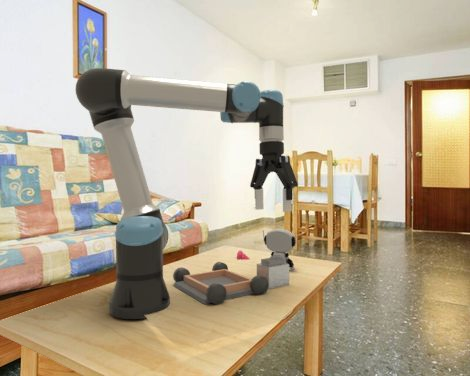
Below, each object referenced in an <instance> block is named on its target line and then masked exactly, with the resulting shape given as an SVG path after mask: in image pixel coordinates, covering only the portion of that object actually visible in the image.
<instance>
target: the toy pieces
mask: <svg viewBox="0 0 470 376" xmlns="http://www.w3.org/2000/svg"><path fill="white" fill-rule="evenodd" d="M236 253H237V254H236V259H237V260H251V258H250V257H248V255H246V253H244V252H243V250H238V251H237V252H236Z"/></svg>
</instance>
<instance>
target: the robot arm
mask: <svg viewBox="0 0 470 376" xmlns="http://www.w3.org/2000/svg"><path fill="white" fill-rule="evenodd" d="M75 95H76V98H77V100H78V102H79V104H80V105H81V106H82V107H84V109H86V111H88V112H89V116H90V119H91V123H92V127H93V129H94V130H95V132H97V133H99V134H101V137H102V141H103V144H104V147H105V151H106V154H107V158H108V162H109V165H110V168H111V171H112V175H113V179H114V183H115V186H116V190H117V192H118V193H117V194H118V195H119V199H120V203H121V205H122V211H123V214H122V215H121V218H120V220H119V221H118V222H117V224H116V227H115V233H114V235H115V257H116V259H115V263H116V265H115V267H116V269H115V270H116V282H115V285H114V288H113V291H112V294H111V298H110V301H109V314H110V315H111V316H112V317H114V318H118V319H124V320H137V319H138V320H139V319H146V318H147V316H146V315H151V314H152V315H153V314H155V313H159V312H161V311H164V310H165V309H168V307H169V306H170V305H171V297H170V293H169V291H168V288H167V285H166V282H165V280H164V258H163V257H164V253H163V252H164V249H165V248H166V246H167V244H168V241H169V229H168V227H167V226H166V223H165V222H164V219H163V216H162V213H161V209H160V207H158V206H157V205H155V204H154V203H153V200H152V196H151V193H150V190H149V186H148V183H147V179H146V176H145V172H144V169H143V165H142V162H141V159H140V155H139V151H138V148H137V143H136V142H135V136H134V134H133V131H132V126H133V124H134V122H135V119H134V115H133V112H132V106H141V107H154V108H164V109H166V108H167V109H179V110H190V111H205V112H217V113H220V116H219V117H220V120H221V122H222V123H226V124H227V123H228V124H240V123H241V124H246V123H247V124H248V123H249V124H250V123H251V124H252V123H253V124H257V123H258V126H259V127H258V132H259V133H258V136H259V137H258V141H260V143H259V145H258V146H259V155H261V157H262V158H256V159H255V166H254V170H253V173H252V178H251V180H250V183H249V184H250V185H249V187H250V188H253V190H254V199H255V200H254V202H255V205H254V206H255V211H257V210H264V188H263V185H264V184H265V182H266V180H267V178H268V176H269V174H271V173H275V175H277V177H278V179H279V181H280V182H281V184H282V186H283V188H282V212H283V213H284V212H285V213H287V212H293V210H292V209H293V207H292V205H293V204H292V201H293V199H294V198H293V190H294V188H296V187H298V185H299V184H298V180H297V178H296V175H295V172H294V170H293V166H292V164H291V157H290V155H284V153H285V143H284V142H283V141H284V140H285V139H284V138H285V137H284V133H285V132H284V96H283V93H282V92H281V91H280V90H277V89H267V90H266V89H265V90H262V91H261V90H260V88H259V86H257V84H255V83H254V82H252V81H250V80H243V81H241V82H238V83H237V84H235V83H234V84H233V83H222V82H221V83H220V82H210V81H209V82H207V81H199V80H190V79H189V80H188V79H187V80H186V79H178V78H177V79H176V78H165V77H157V76H155V77H154V76H145V75H135V74H130V73H129V71H127V70H126V69H114V68H106V67H102V68H101V67H97V68H91V69H88V70H86V71H84V72H83V73H82V74H81V75H80V76H79V77H78V79H77V81H76V83H75Z"/></svg>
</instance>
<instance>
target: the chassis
mask: <svg viewBox="0 0 470 376" xmlns="http://www.w3.org/2000/svg"><path fill="white" fill-rule="evenodd" d="M172 277H173V281H174V282H173V286H174V287H175V288H176V289H178V290H180V291H182V292H183V293H185V294H187V295H188V296H189V297H192V298H194V299H195V300H197V302H200V303H201V304H203V305H208V304H214V305H220V304H222V303H223V302H224V301H226V300H231V299H235V298H241V297H245V296H250V295H254V294H256V295H259V296H261V295H264V294H265V293H267V291H268V290H269V289H268V280H267V279H266V278H265V277H263V276H260V275H257V274H256V275H255V276H253V277H252V278H251V277H248V276H245V275H243V274H239V273H237V272H234V271H232V270H229V268H228V265H227V264H226V263H225V262H222V261H218V262H216V263H214V264H213V266H212V269H211V271H204V272H200V273H199V272H198V273H193V274H192V273H191V272H190V271H189V269H187V268H185V267H177V268H176V269H175V270H174V271H173V275H172Z"/></svg>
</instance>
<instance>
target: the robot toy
mask: <svg viewBox="0 0 470 376" xmlns="http://www.w3.org/2000/svg"><path fill="white" fill-rule="evenodd" d="M262 235H263V241H264V245H265V246H266V248H267V249H268V250H269V251H271V253H270V255H271V256H270V257H269V258H273V257H278V258H282V259H284V263H287V264H289V271H290V272H294V271H295V270H296V267H295V264H294V262H293V260H292V259H291V258H290V257H289V256H290V254H289V252H290V251H292V250H293V248H294V247H295V246H296V245H297V244H296V243H297V237H296V231H294V234H293V233H292V232H291V231H290V230H287V229H282V228H276V229H272V230H269V231H268V232H266V235H265V230H262Z"/></svg>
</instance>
